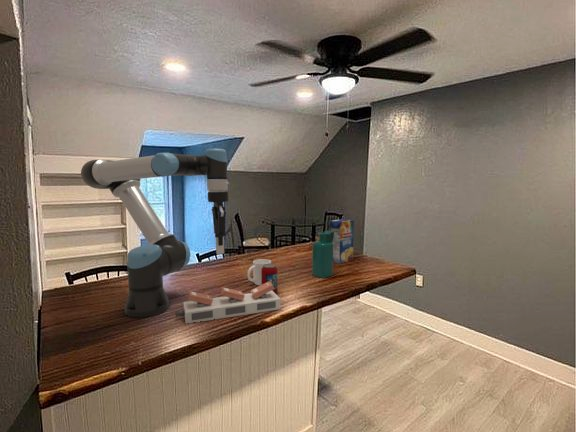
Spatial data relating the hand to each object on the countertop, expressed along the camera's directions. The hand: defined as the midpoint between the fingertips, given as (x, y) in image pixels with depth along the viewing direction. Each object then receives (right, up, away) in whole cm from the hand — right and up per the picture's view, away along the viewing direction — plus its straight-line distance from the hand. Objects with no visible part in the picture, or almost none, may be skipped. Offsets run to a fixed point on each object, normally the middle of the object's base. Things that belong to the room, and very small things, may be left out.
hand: (220, 253), depth 123 cm
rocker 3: (+16, -14, 0) cm, 21 cm away
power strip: (+4, -21, -4) cm, 22 cm away
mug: (+12, -17, +27) cm, 35 cm away
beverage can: (+18, -19, +16) cm, 30 cm away
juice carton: (+57, -12, +68) cm, 90 cm away
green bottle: (+44, -16, +40) cm, 61 cm away
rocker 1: (-5, -15, -8) cm, 18 cm away
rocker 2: (+5, -14, -4) cm, 16 cm away
